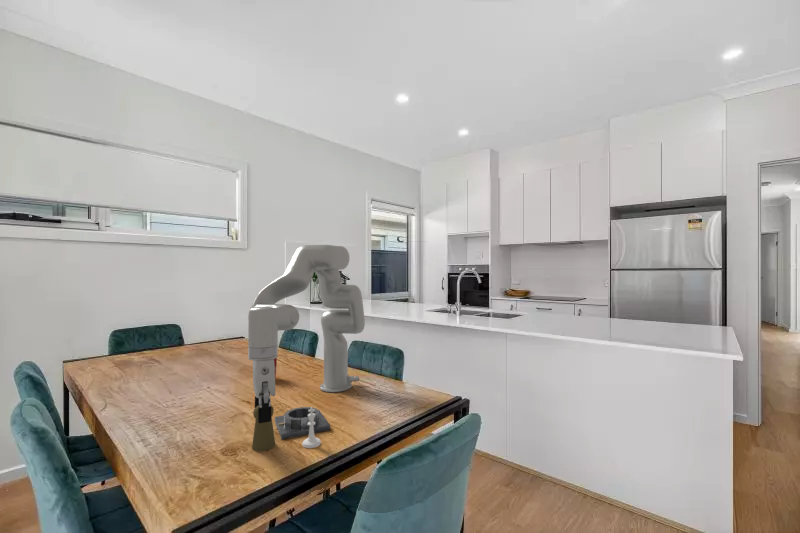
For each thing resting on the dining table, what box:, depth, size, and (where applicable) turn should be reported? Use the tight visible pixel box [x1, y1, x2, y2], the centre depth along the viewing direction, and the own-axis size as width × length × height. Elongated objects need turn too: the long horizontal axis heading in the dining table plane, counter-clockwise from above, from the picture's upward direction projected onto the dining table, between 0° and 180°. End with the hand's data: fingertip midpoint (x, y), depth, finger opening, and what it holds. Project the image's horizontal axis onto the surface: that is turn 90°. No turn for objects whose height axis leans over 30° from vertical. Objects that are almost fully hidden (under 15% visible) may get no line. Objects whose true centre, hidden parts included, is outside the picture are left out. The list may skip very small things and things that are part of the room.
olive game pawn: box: [251, 405, 276, 452], centre depth 104 cm, size 6×6×11 cm
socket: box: [274, 406, 331, 440], centre depth 117 cm, size 14×14×4 cm
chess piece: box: [301, 406, 322, 449], centre depth 105 cm, size 5×5×10 cm
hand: (262, 415), depth 104 cm, fingers open, 9 cm apart
